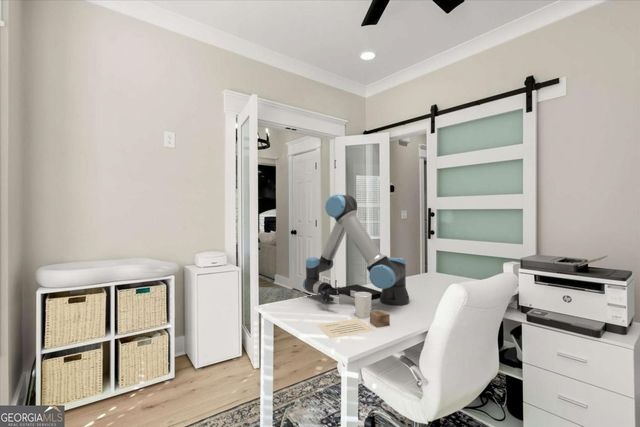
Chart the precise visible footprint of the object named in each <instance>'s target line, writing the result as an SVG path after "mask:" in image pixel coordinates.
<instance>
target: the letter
mask: <svg viewBox="0 0 640 427" xmlns="http://www.w3.org/2000/svg"><path fill="white" fill-rule="evenodd" d="M316 326H317V327H318V328H319V329H320V330H321V332H323V333H324V334H325V335H326V337H328V338H329V339H335V338H340V337H341V338H342V337H347V336H353V335H358V334H364V333H369V332H374V331H377V330H376V329H374V328H373V327H371V326H370V325H369V324H367V323H366V322H365V321H363V320H361V318H359V317H357V318H352V319H345V320H339V321H333V322H332V321H331V322H327V323H322V324H321V323H320V324H316Z"/></svg>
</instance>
